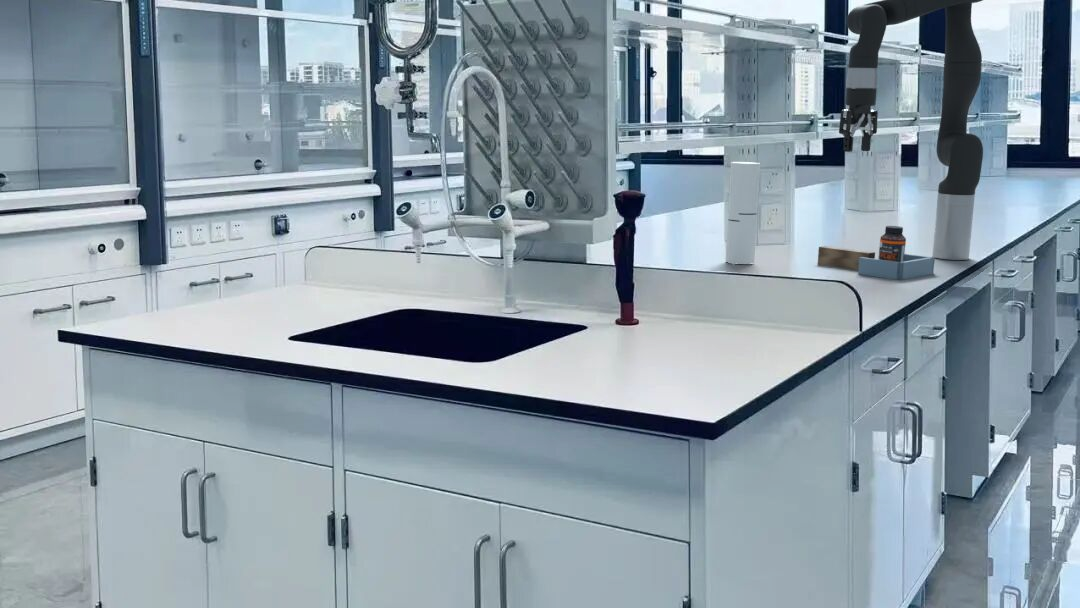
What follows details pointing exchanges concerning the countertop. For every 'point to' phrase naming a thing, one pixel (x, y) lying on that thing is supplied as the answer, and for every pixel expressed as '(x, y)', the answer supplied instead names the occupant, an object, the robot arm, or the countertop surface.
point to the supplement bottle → (892, 244)
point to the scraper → (842, 257)
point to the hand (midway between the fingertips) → (856, 151)
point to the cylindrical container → (742, 212)
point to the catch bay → (897, 267)
